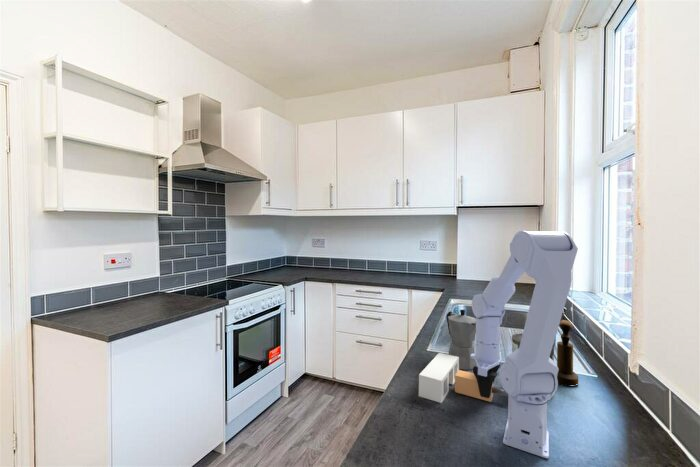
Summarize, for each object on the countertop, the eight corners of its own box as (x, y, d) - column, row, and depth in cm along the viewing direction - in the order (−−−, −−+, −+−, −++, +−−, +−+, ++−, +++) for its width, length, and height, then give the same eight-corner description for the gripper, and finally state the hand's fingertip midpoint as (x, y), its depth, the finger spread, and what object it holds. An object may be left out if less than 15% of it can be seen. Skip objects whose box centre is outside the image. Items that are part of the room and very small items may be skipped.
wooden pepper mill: (554, 374, 97) (555, 316, 96) (580, 381, 92) (581, 320, 92) (548, 381, 92) (550, 320, 92) (575, 389, 87) (577, 325, 87)
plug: (508, 407, 78) (508, 388, 77) (454, 391, 84) (455, 375, 84) (510, 399, 81) (510, 382, 81) (458, 385, 88) (458, 369, 88)
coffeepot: (487, 371, 98) (488, 314, 98) (461, 374, 95) (462, 315, 95) (458, 352, 113) (459, 302, 113) (434, 355, 110) (435, 304, 110)
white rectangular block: (441, 403, 79) (442, 380, 79) (418, 396, 83) (419, 374, 83) (458, 375, 95) (459, 357, 94) (438, 370, 98) (439, 352, 98)
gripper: (476, 331, 90) (475, 377, 90) (465, 346, 78) (464, 400, 78) (503, 335, 86) (502, 384, 87) (496, 352, 74) (495, 409, 74)
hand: (486, 392), depth 82 cm, fingers closed on plug, 4 cm apart
